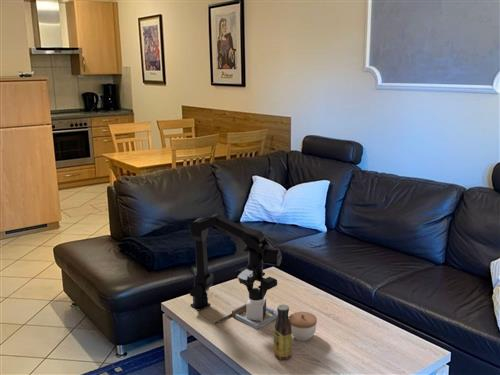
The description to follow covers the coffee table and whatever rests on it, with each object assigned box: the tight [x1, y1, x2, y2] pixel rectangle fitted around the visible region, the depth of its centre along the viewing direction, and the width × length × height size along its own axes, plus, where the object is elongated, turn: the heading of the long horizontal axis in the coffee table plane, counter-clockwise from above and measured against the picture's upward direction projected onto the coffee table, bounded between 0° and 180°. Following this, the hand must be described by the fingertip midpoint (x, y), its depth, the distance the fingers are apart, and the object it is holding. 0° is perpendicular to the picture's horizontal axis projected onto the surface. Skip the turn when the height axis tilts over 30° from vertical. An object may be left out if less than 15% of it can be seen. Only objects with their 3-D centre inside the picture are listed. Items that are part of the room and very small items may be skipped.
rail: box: [213, 312, 233, 325], centre depth 207 cm, size 1×23×1 cm, turn 136°
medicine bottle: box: [245, 287, 267, 321], centre depth 203 cm, size 7×7×12 cm
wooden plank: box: [231, 303, 247, 317], centre depth 209 cm, size 1×14×2 cm, turn 135°
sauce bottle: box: [273, 304, 293, 361], centre depth 174 cm, size 6×6×20 cm
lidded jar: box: [288, 311, 318, 342], centre depth 187 cm, size 11×11×9 cm
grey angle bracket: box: [234, 305, 278, 330], centre depth 203 cm, size 12×14×2 cm
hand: (256, 296), depth 202 cm, fingers open, 6 cm apart
